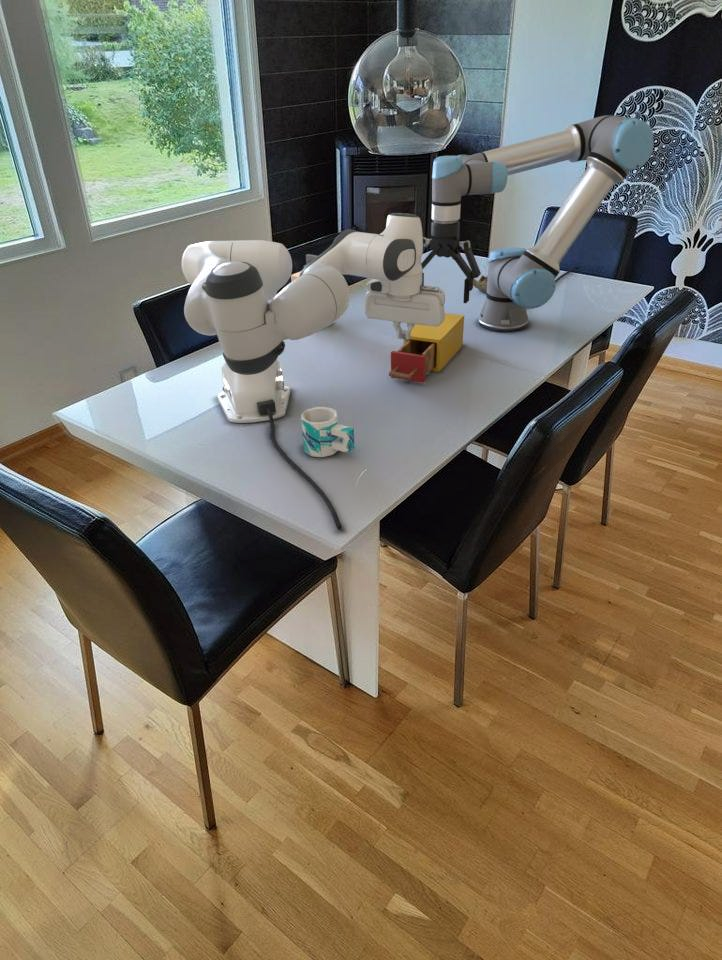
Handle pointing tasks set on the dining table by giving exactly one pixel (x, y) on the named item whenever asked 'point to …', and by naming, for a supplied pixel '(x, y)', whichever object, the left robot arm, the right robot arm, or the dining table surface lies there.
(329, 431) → the mug
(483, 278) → the jawbone
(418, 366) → the drawer
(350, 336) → the dining table surface
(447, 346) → the cabinet
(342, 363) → the dining table surface
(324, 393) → the dining table surface
